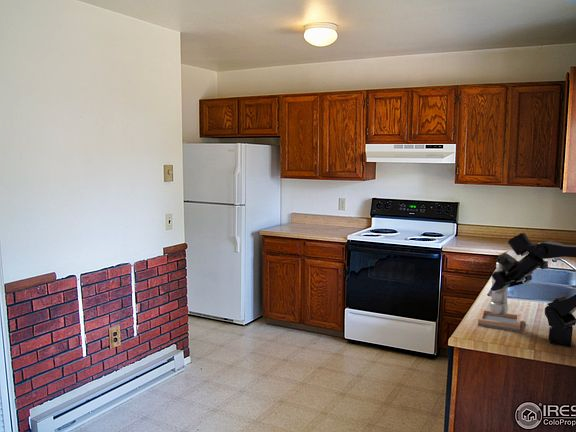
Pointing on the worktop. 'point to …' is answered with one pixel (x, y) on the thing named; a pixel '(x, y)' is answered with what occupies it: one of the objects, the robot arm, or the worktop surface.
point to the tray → (499, 320)
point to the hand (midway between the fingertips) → (496, 289)
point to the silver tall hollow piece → (499, 296)
